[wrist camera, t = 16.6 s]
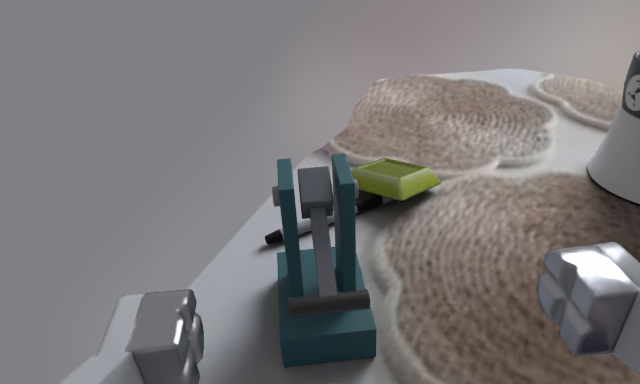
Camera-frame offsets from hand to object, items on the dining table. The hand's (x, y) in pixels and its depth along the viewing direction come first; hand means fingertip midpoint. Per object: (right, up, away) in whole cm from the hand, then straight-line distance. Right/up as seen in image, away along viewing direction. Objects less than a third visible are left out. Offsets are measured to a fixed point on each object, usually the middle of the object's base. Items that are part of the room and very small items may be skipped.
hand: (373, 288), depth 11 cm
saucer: (+7, +5, +43) cm, 44 cm away
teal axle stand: (-1, -8, +28) cm, 29 cm away
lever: (-1, -2, +21) cm, 21 cm away
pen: (-7, -3, +40) cm, 40 cm away
